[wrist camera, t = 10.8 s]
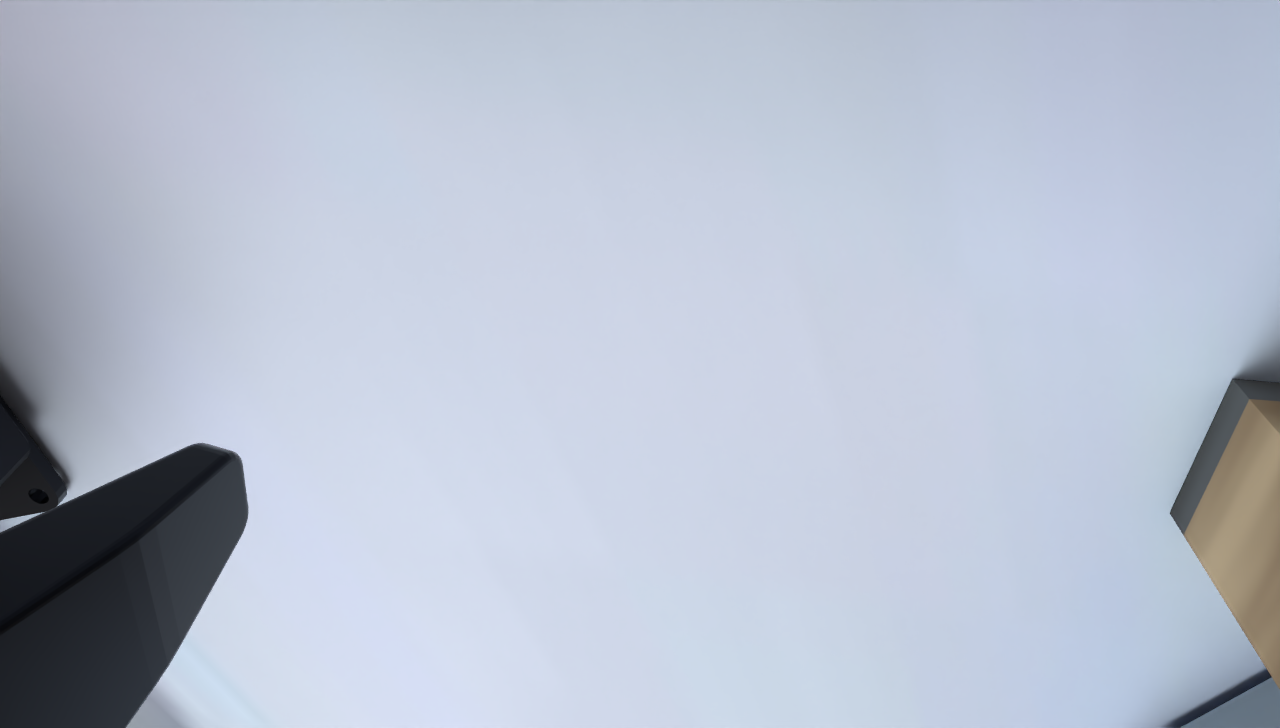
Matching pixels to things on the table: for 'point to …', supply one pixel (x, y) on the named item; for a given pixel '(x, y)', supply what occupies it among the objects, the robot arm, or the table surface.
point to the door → (1245, 710)
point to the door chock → (1240, 511)
